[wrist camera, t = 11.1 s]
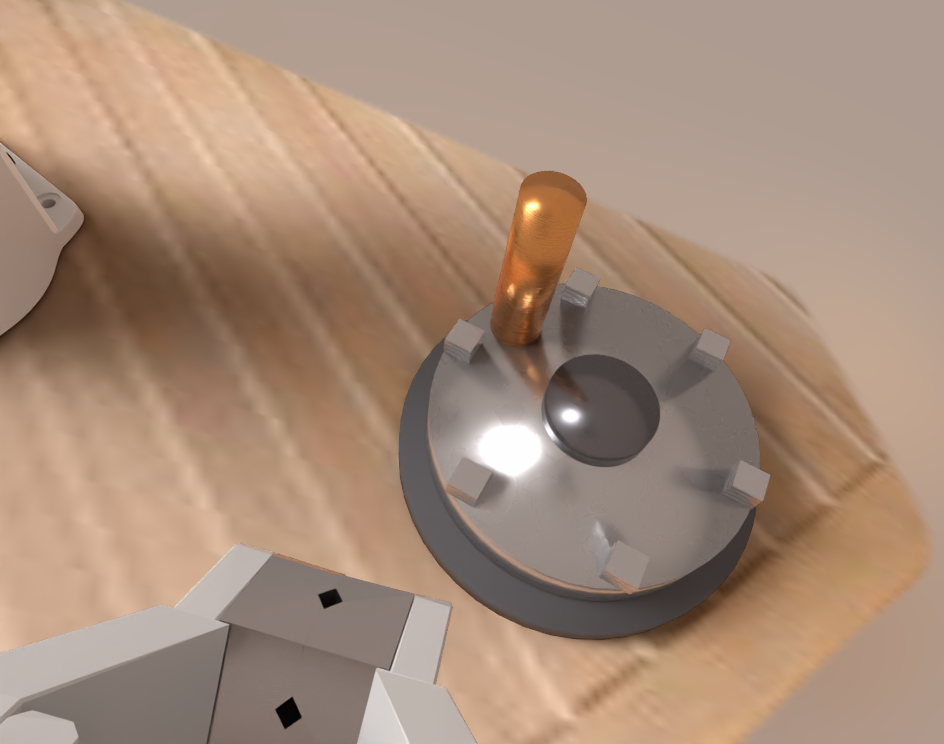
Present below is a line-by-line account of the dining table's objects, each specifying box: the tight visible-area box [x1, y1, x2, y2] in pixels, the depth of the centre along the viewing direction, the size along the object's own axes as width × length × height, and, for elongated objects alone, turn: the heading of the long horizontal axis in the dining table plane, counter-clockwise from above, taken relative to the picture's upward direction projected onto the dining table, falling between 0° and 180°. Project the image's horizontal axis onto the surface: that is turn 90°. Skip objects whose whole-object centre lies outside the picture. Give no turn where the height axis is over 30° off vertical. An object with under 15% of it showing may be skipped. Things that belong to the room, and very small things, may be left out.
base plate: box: [399, 320, 756, 640], centre depth 38 cm, size 21×21×2 cm
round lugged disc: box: [426, 171, 770, 601], centre depth 31 cm, size 18×18×13 cm
